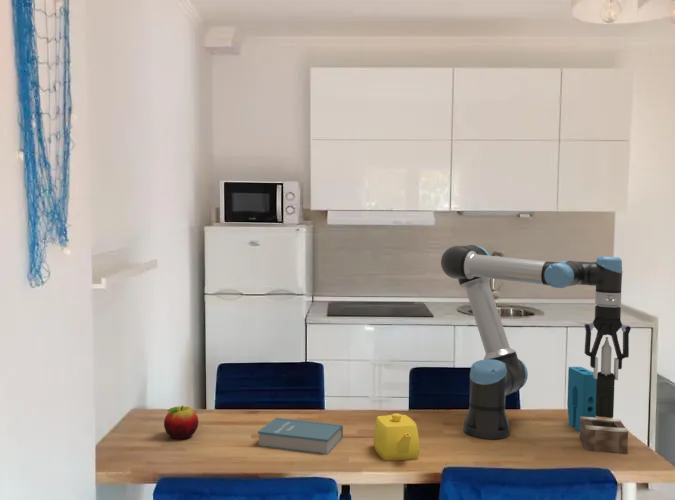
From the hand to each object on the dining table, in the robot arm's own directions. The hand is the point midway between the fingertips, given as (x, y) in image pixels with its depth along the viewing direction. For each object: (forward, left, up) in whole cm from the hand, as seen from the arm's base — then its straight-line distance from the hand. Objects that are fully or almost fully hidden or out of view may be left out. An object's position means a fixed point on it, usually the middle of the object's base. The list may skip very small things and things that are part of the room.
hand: (605, 378), depth 206 cm
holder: (0, 0, -21) cm, 21 cm away
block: (-4, +17, -22) cm, 28 cm away
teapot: (-63, -24, -22) cm, 71 cm away
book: (-94, -21, -22) cm, 99 cm away
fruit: (-132, -26, -22) cm, 136 cm away
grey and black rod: (0, 0, -12) cm, 12 cm away
